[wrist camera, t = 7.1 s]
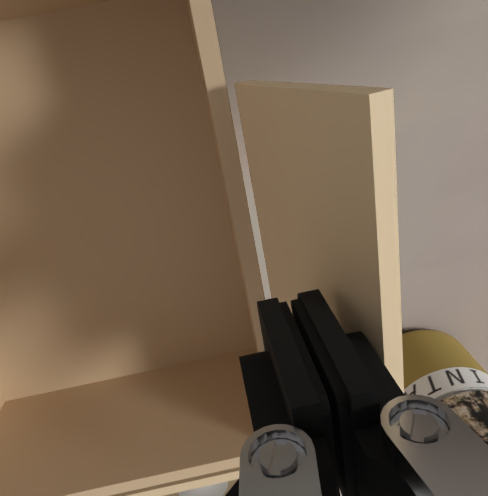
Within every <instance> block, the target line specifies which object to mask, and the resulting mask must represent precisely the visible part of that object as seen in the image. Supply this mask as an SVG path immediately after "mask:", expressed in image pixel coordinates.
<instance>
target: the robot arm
mask: <svg viewBox="0 0 488 496" xmlns="http://www.w3.org/2000/svg"><path fill="white" fill-rule="evenodd" d="M257 308H258V314H259V320H260V326H261V332H262V338H263V344H264V350H265V351H263V352H258V353H253V354H249V355H244V356H239V361H240V366H241V371H242V376H243V381H244V386H245V391H246V396H247V401H248V406H249V411H250V416H251V421H252V426H253V431H254V433H253V434H252V435H250V436H249V437H248V438H247V440H246V441H245V443H244V444H243V446H242V449H241V454H240V468H239V479H238V480H237V481H236V483H235V484H234V485H233V486H232V488H231V489H230V490H229V491H228V493H227V494H226V495H225V496H340V491H339V488H340V490H341V493H342V496H488V442H487V441H484V440H482V439H481V438H480V437H479V436H478V435H477V434H476V433H475V432H474V431H473V430H472V429H471V428H470V427H469V426H468V425H467V424H466V423H465V422H464V421H463V420H462V419H461V418H460V417H459V416H458V415H457V414H456V413H455V412H454V411H453V410H452V409H450V408H449V407H448V406H446V405H445V404H444V403H442V402H441V401H438V400H436V399H434V398H432V397H428V396H423V395H404V393H403V392H402V390H401V389H400V387H399V386H398V384H397V383H396V381H395V380H394V378H393V377H392V375H391V374H390V372H389V371H388V369H387V368H386V366H385V365H384V363H383V362H382V360H381V359H380V357H379V356H378V354H377V353H376V351H375V350H374V348H373V347H372V345H371V344H370V342H369V341H368V339H367V338H366V336H365V335H364V334H363V333H362V332H361V331H357V332H352V333H347V334H346V333H345V332H344V330H343V328H342V327H341V325H340V324H339V322H338V320H337V319H336V317H335V315H334V314H333V312H332V310H331V309H330V307H329V305H328V304H327V302H326V300H325V299H324V297H323V295H322V294H321V292H320V290H319V289H316V290H311V291H306V292H301V293H298V294H297V299H294V300H291V308H292V313H291V311H290V308H289V306H288V304H287V302H286V301H284V302H279V300H278V298H272V299H267V300H262V301H257Z"/></svg>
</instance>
